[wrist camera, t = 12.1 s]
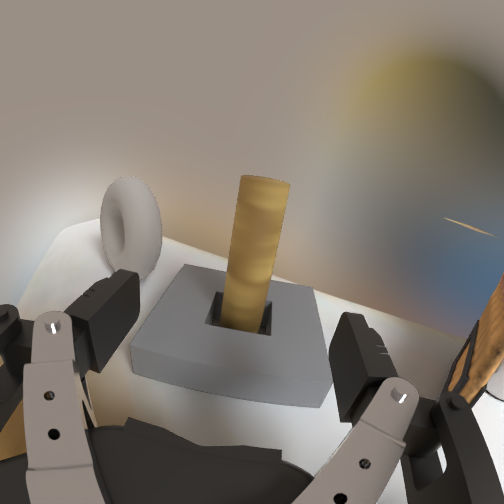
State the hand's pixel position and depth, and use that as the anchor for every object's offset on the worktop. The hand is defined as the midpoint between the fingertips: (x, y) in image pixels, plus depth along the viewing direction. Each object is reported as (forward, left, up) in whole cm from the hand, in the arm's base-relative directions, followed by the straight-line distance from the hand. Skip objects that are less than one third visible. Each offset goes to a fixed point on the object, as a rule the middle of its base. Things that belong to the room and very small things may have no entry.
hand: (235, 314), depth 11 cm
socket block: (0, -8, -8) cm, 12 cm away
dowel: (0, -8, -8) cm, 12 cm away
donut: (+12, -14, -8) cm, 20 cm away
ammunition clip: (-18, -3, -8) cm, 20 cm away
